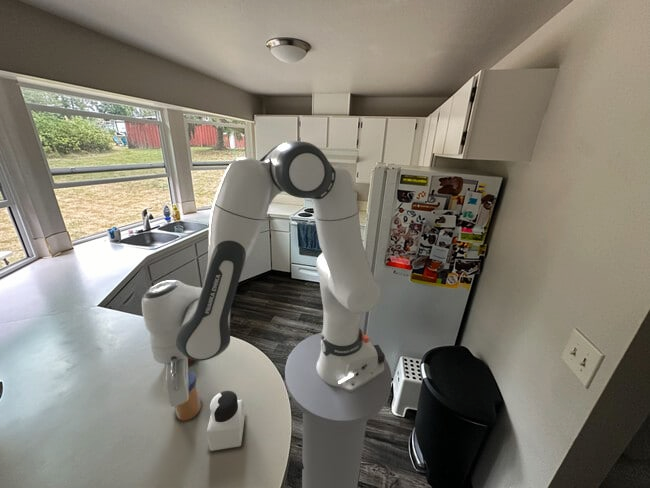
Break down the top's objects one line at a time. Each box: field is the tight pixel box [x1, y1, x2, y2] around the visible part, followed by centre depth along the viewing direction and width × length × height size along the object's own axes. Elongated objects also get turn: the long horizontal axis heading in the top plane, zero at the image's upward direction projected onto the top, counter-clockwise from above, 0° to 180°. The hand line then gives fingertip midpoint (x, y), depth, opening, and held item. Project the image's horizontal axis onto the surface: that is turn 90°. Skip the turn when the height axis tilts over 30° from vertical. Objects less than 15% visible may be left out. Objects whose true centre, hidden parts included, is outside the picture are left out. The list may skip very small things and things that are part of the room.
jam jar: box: [174, 383, 202, 421], centre depth 66 cm, size 6×6×11 cm
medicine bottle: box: [206, 390, 245, 452], centre depth 61 cm, size 7×7×12 cm
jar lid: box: [188, 370, 197, 392], centre depth 65 cm, size 6×6×2 cm
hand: (183, 385), depth 65 cm, fingers closed on jar lid, 6 cm apart
